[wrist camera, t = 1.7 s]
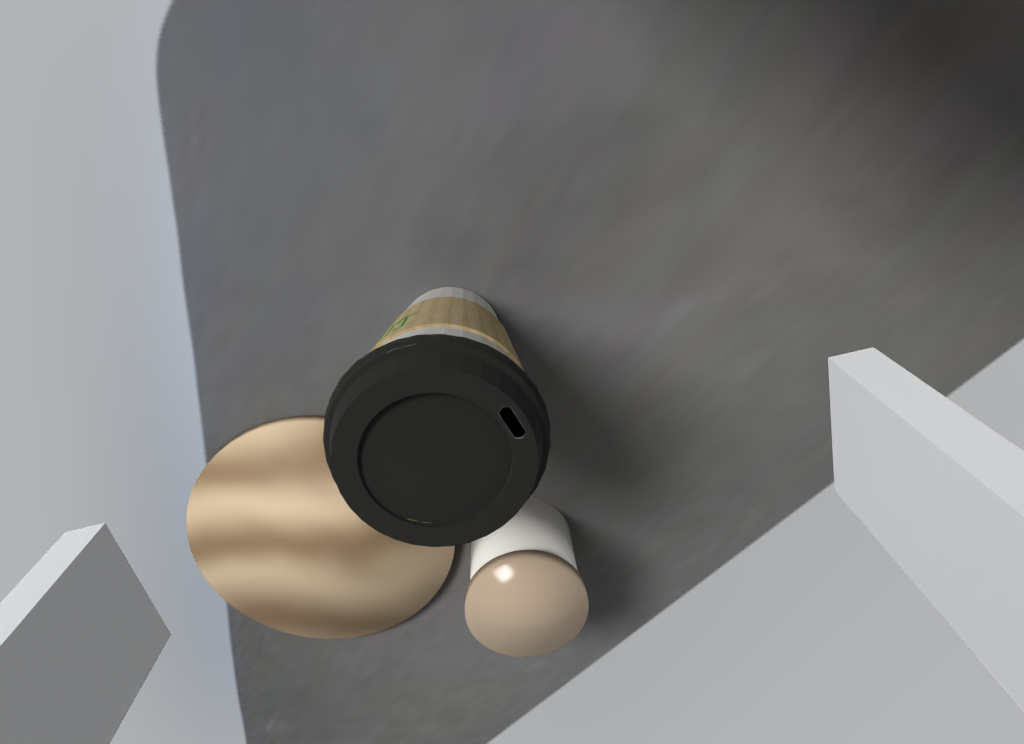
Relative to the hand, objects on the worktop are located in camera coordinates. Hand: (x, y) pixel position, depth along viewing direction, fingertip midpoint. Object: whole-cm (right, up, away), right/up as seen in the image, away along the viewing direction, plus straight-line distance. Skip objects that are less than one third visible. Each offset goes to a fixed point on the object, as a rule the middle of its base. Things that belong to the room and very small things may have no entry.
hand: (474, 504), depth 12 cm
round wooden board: (-12, -9, +34) cm, 38 cm away
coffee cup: (-3, +5, +29) cm, 30 cm away
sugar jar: (+1, -9, +35) cm, 37 cm away
